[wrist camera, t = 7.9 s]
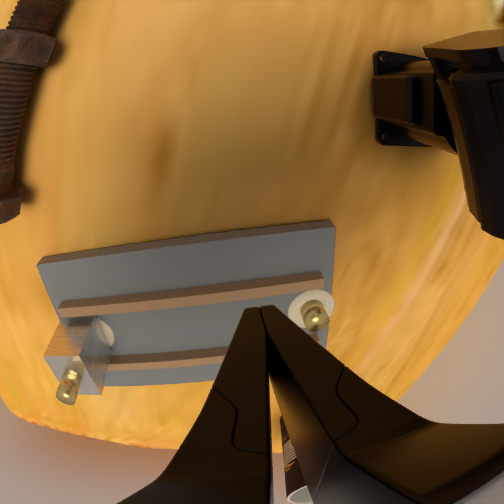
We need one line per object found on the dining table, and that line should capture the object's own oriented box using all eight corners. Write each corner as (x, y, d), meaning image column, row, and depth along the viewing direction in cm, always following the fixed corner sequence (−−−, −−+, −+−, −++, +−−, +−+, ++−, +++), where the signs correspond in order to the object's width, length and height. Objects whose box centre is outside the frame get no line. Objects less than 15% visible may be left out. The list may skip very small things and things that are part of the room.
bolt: (80, -1, 13) (21, 195, 19) (19, -12, 10) (-35, 191, 15) (91, -21, 10) (18, 230, 15) (12, -35, 6) (-52, 226, 12)
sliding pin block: (95, 314, 21) (70, 379, 15) (112, 352, 23) (96, 416, 17) (62, 316, 21) (33, 377, 15) (81, 353, 22) (61, 414, 17)
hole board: (333, 219, 21) (345, 232, 19) (323, 353, 27) (330, 370, 26) (43, 256, 20) (30, 272, 18) (98, 376, 26) (93, 394, 24)
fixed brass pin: (323, 297, 23) (330, 311, 21) (322, 316, 24) (328, 329, 22) (299, 301, 23) (305, 315, 21) (299, 320, 24) (305, 334, 22)
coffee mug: (301, 439, 35) (319, 504, 26) (254, 422, 32) (268, 500, 23) (376, 391, 32) (409, 459, 23) (338, 366, 29) (375, 450, 20)
